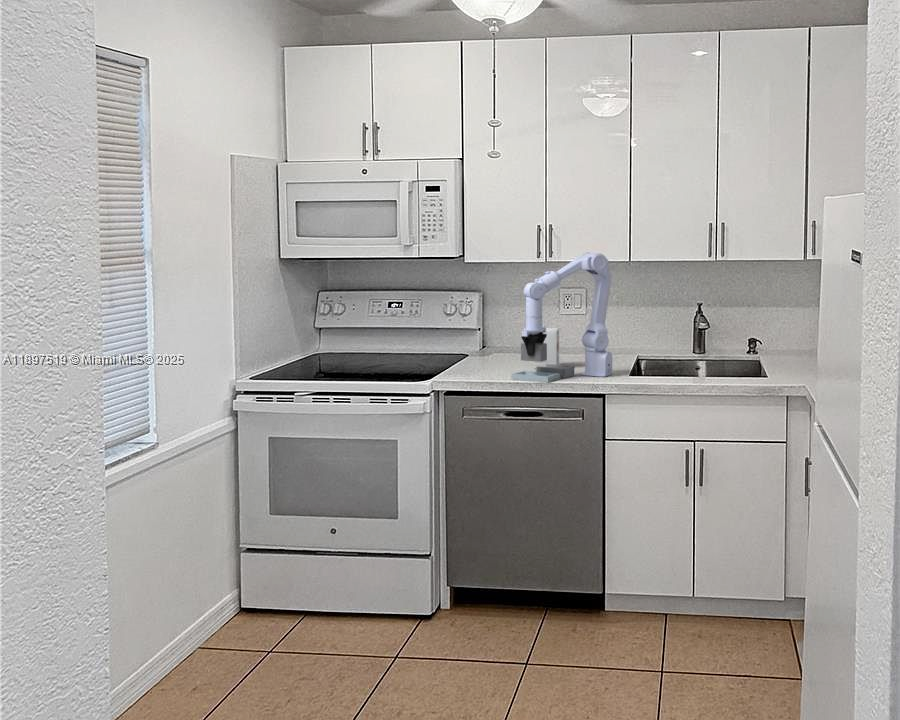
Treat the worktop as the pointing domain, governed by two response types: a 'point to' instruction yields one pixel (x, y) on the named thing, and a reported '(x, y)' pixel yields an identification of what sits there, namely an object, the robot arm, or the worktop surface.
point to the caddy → (535, 353)
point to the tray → (535, 376)
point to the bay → (557, 370)
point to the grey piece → (550, 348)
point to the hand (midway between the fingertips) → (534, 354)
